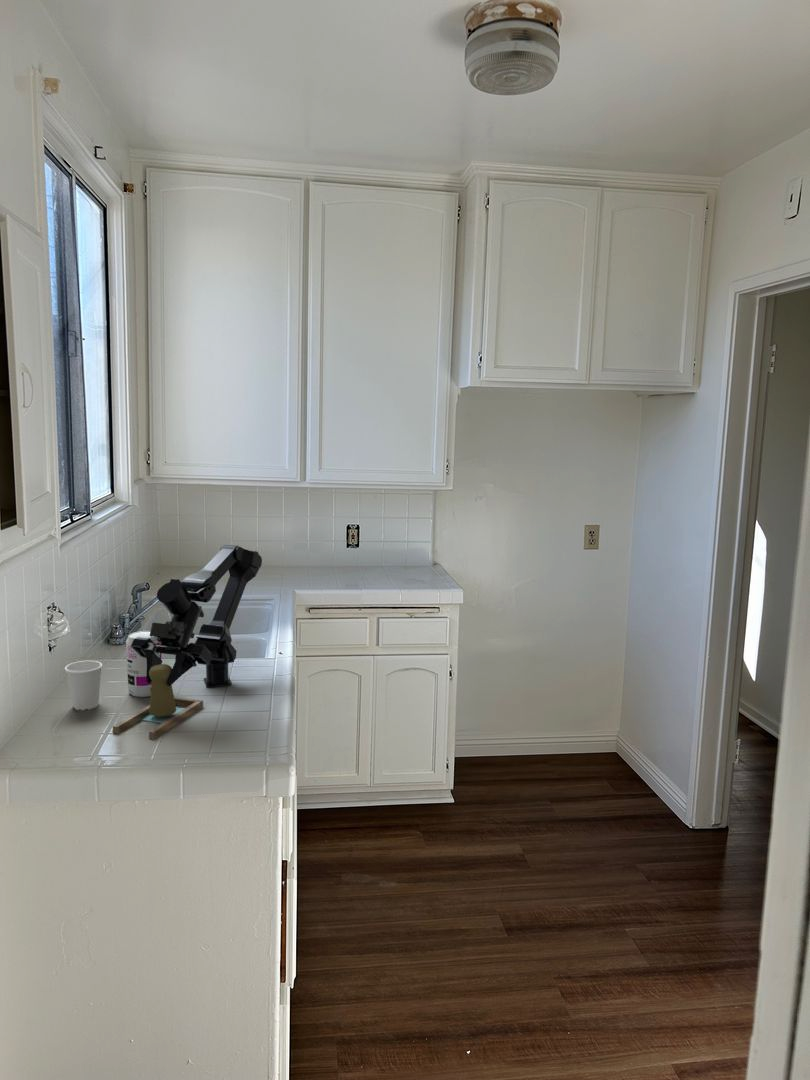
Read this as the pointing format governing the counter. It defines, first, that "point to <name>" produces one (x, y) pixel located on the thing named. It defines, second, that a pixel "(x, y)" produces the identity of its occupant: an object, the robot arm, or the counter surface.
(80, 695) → the dixie cup
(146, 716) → the rail track
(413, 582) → the counter surface
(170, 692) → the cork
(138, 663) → the supplement can
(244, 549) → the robot arm
